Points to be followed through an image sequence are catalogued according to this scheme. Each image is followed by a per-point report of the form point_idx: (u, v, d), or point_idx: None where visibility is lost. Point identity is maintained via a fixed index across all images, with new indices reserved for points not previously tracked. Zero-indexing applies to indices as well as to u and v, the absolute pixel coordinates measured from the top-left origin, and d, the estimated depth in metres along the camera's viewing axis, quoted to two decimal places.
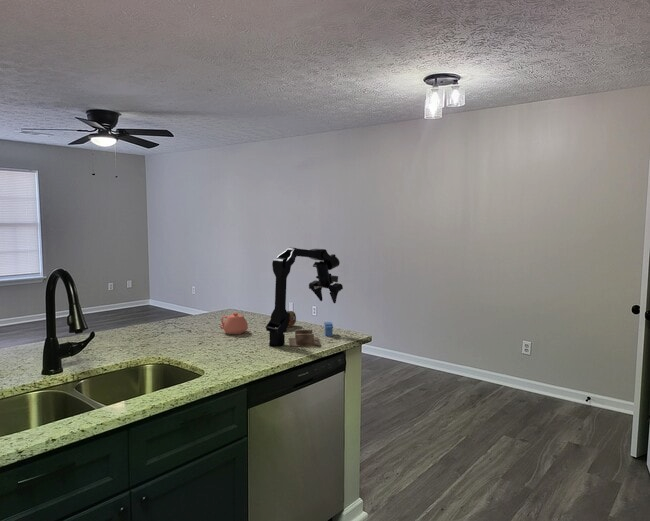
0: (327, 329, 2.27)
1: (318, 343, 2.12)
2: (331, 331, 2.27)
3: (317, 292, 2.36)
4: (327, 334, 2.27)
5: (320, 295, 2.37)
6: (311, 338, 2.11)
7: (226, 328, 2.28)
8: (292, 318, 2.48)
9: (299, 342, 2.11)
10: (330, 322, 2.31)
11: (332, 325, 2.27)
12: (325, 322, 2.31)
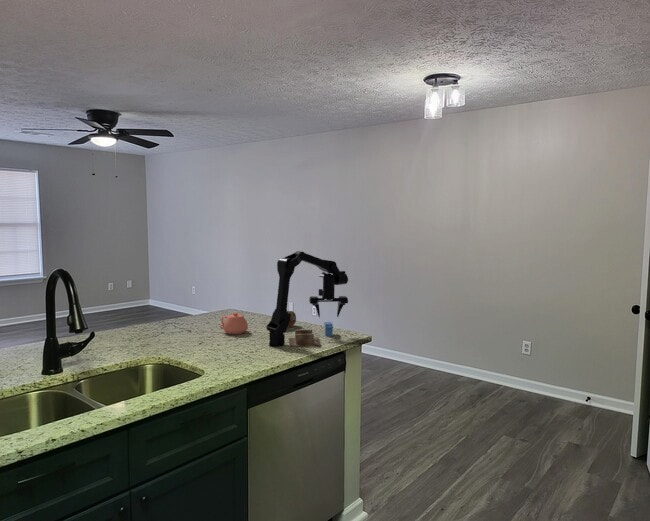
0: (327, 329, 2.27)
1: (318, 343, 2.12)
2: (331, 331, 2.27)
3: None
4: (327, 334, 2.27)
5: (319, 311, 2.28)
6: (311, 338, 2.11)
7: (226, 328, 2.28)
8: (292, 318, 2.48)
9: (299, 342, 2.11)
10: (330, 322, 2.31)
11: (332, 325, 2.27)
12: (325, 322, 2.31)
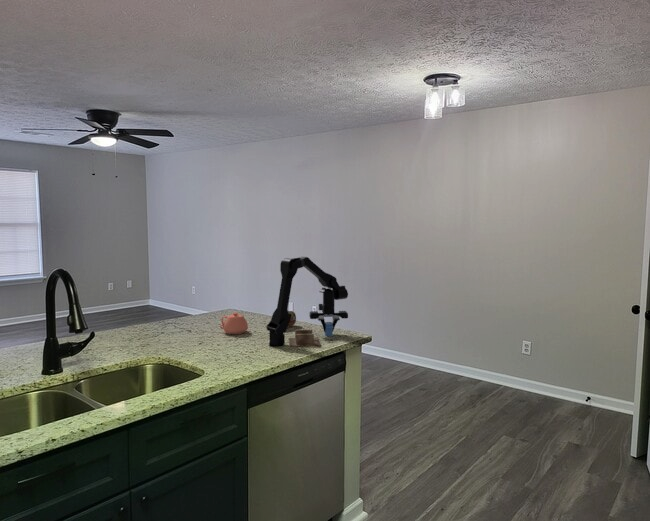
0: (327, 329, 2.27)
1: (318, 343, 2.12)
2: (331, 331, 2.27)
3: (324, 322, 2.28)
4: (327, 334, 2.27)
5: (324, 326, 2.29)
6: (311, 338, 2.11)
7: (226, 328, 2.28)
8: (292, 318, 2.48)
9: (299, 342, 2.11)
10: (330, 322, 2.31)
11: (332, 325, 2.27)
12: (325, 322, 2.31)
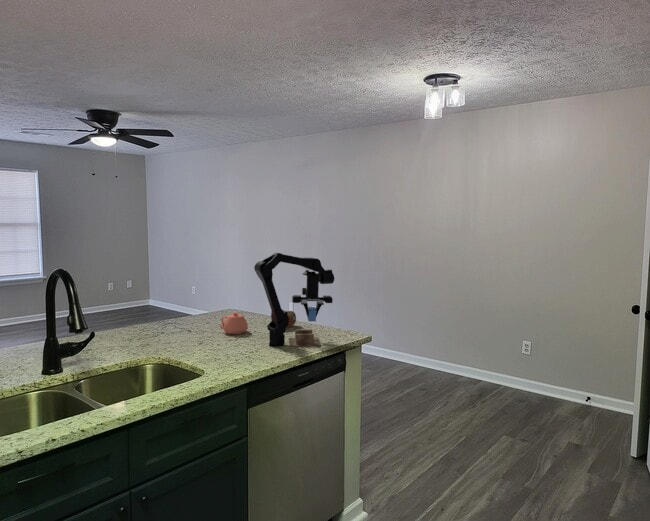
0: (310, 314, 2.16)
1: (318, 343, 2.12)
2: (314, 316, 2.17)
3: (307, 307, 2.17)
4: (310, 319, 2.17)
5: (307, 310, 2.19)
6: (311, 338, 2.11)
7: (226, 328, 2.28)
8: (292, 318, 2.48)
9: (299, 342, 2.11)
10: (314, 307, 2.20)
11: None
12: (308, 307, 2.20)
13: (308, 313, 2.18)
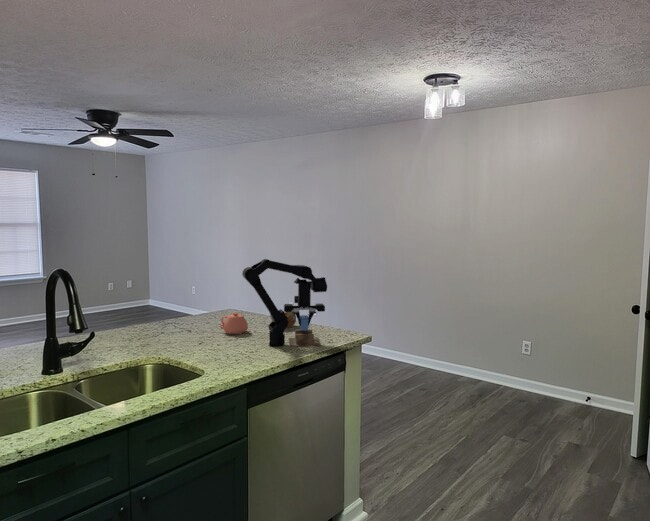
0: (302, 323, 2.12)
1: (318, 343, 2.12)
2: (307, 325, 2.12)
3: (299, 316, 2.13)
4: (302, 328, 2.12)
5: None
6: (311, 338, 2.11)
7: (226, 328, 2.28)
8: (292, 318, 2.48)
9: (299, 342, 2.11)
10: (306, 315, 2.16)
11: None
12: (301, 315, 2.16)
13: None
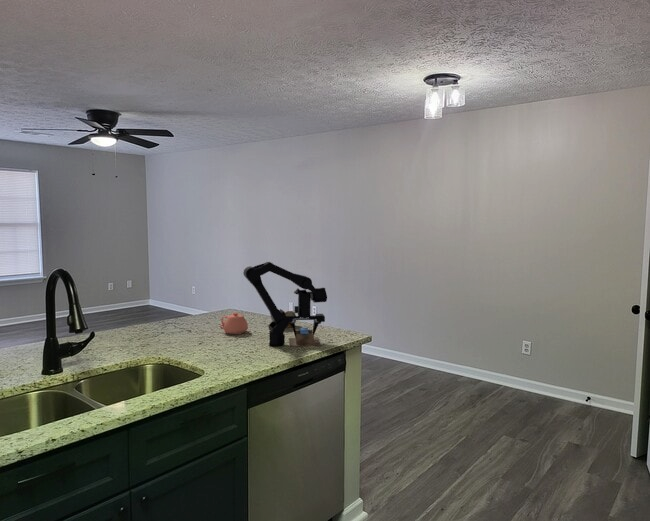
0: None
1: (318, 343, 2.12)
2: None
3: None
4: None
5: (295, 330, 2.15)
6: (311, 338, 2.11)
7: (226, 328, 2.28)
8: None
9: (299, 342, 2.11)
10: (306, 328, 2.17)
11: None
12: (301, 328, 2.17)
13: None
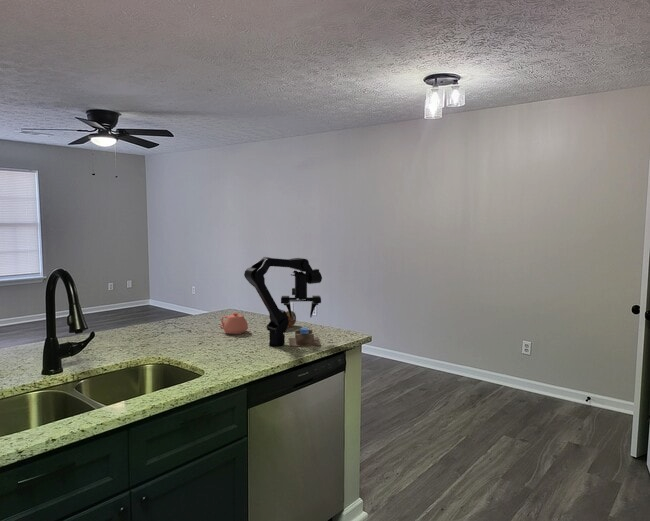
0: None
1: (318, 343, 2.12)
2: None
3: (290, 307, 2.16)
4: None
5: None
6: (311, 338, 2.11)
7: (226, 328, 2.28)
8: (292, 318, 2.48)
9: (299, 342, 2.11)
10: (306, 328, 2.17)
11: None
12: (301, 328, 2.17)
13: None
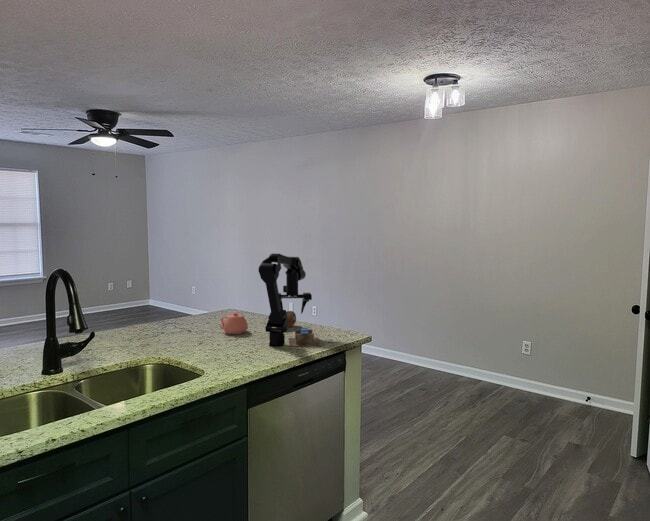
0: None
1: (318, 343, 2.12)
2: None
3: None
4: None
5: (282, 307, 2.26)
6: (311, 338, 2.11)
7: (226, 328, 2.28)
8: (292, 318, 2.48)
9: (299, 342, 2.11)
10: (306, 328, 2.17)
11: None
12: (301, 328, 2.17)
13: None
